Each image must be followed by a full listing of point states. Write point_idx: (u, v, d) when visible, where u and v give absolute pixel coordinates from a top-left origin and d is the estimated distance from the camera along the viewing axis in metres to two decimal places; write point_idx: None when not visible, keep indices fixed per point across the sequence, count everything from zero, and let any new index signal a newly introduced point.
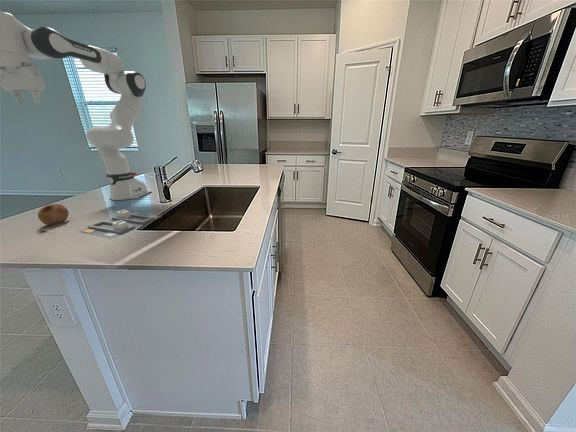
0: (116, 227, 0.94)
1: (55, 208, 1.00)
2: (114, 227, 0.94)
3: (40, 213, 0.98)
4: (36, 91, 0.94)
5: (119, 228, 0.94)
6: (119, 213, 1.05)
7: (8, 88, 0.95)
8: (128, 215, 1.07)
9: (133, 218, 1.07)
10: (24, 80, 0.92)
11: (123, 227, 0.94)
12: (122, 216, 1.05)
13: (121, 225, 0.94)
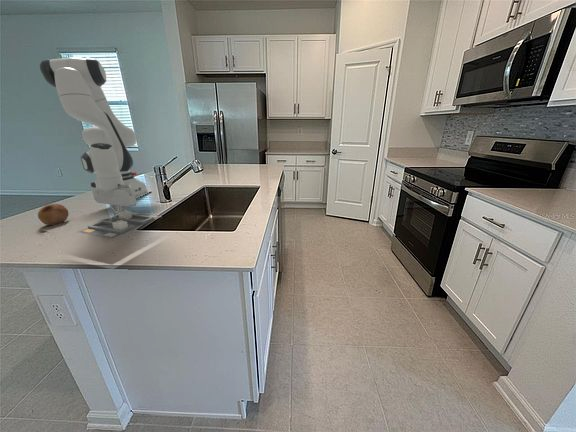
0: (116, 227, 0.94)
1: (55, 208, 1.00)
2: (114, 227, 0.94)
3: (40, 213, 0.98)
4: (121, 205, 1.05)
5: (119, 228, 0.94)
6: (120, 213, 1.05)
7: (101, 202, 1.06)
8: (129, 215, 1.07)
9: (133, 218, 1.07)
10: (120, 199, 1.02)
11: (123, 227, 0.94)
12: (123, 216, 1.05)
13: (121, 225, 0.94)
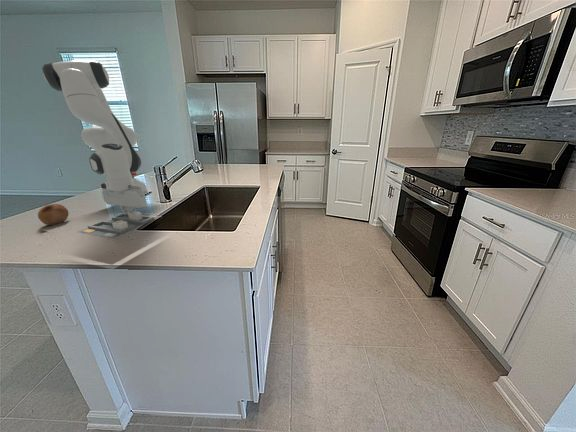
0: (116, 227, 0.94)
1: (55, 208, 1.00)
2: (114, 227, 0.94)
3: (40, 213, 0.98)
4: (131, 207, 1.04)
5: (119, 228, 0.94)
6: (131, 215, 1.04)
7: (111, 203, 1.04)
8: (140, 217, 1.05)
9: None
10: (130, 200, 1.00)
11: (123, 227, 0.94)
12: (134, 218, 1.04)
13: (121, 225, 0.94)
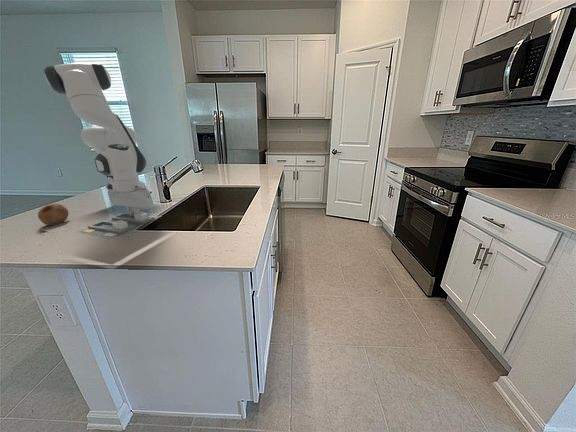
0: (116, 227, 0.94)
1: (55, 208, 1.00)
2: (114, 227, 0.94)
3: (40, 213, 0.98)
4: (137, 207, 1.03)
5: (119, 228, 0.94)
6: (137, 216, 1.03)
7: (117, 204, 1.03)
8: (146, 218, 1.04)
9: (133, 218, 1.07)
10: (137, 201, 0.99)
11: (123, 227, 0.94)
12: (140, 219, 1.03)
13: (121, 225, 0.94)
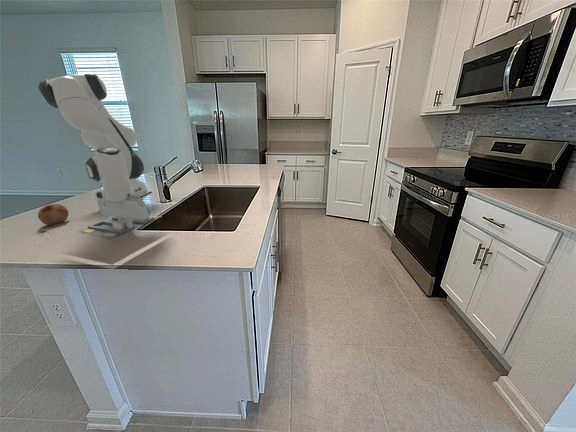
0: (116, 227, 0.94)
1: (55, 208, 1.00)
2: (114, 227, 0.94)
3: (40, 213, 0.98)
4: None
5: (119, 228, 0.94)
6: None
7: (108, 214, 0.93)
8: (146, 218, 1.04)
9: None
10: (130, 211, 0.89)
11: (123, 227, 0.94)
12: None
13: (121, 225, 0.94)
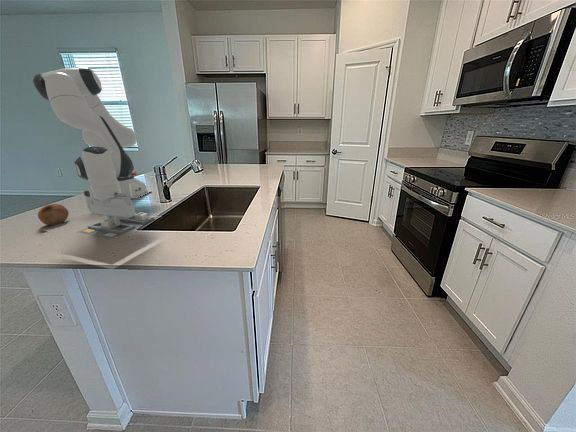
0: (104, 225, 0.96)
1: (55, 208, 1.00)
2: (102, 225, 0.96)
3: (40, 213, 0.98)
4: None
5: (107, 226, 0.95)
6: (137, 216, 1.03)
7: (96, 212, 0.94)
8: (146, 218, 1.04)
9: (133, 218, 1.07)
10: (117, 209, 0.91)
11: (111, 225, 0.96)
12: (140, 219, 1.03)
13: (109, 223, 0.95)
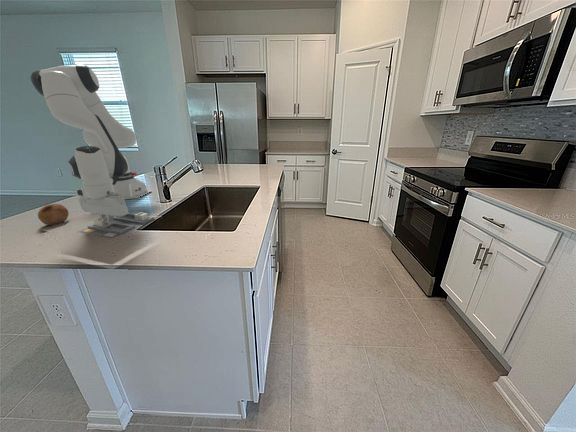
0: (98, 224, 0.97)
1: (55, 208, 1.00)
2: (96, 224, 0.97)
3: (40, 213, 0.98)
4: None
5: (100, 225, 0.96)
6: (137, 216, 1.03)
7: (90, 211, 0.95)
8: (146, 218, 1.04)
9: (133, 218, 1.07)
10: (109, 208, 0.91)
11: (104, 224, 0.97)
12: (140, 219, 1.03)
13: (102, 222, 0.96)
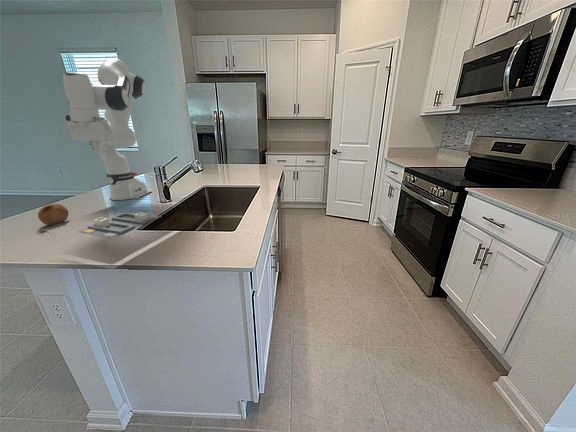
0: (97, 224, 0.97)
1: (55, 208, 1.00)
2: (95, 224, 0.97)
3: (40, 213, 0.98)
4: (97, 142, 1.01)
5: (100, 225, 0.96)
6: (137, 216, 1.03)
7: (77, 138, 1.01)
8: (146, 218, 1.04)
9: (133, 218, 1.07)
10: (96, 133, 0.97)
11: (104, 224, 0.97)
12: (140, 219, 1.03)
13: (102, 222, 0.96)
